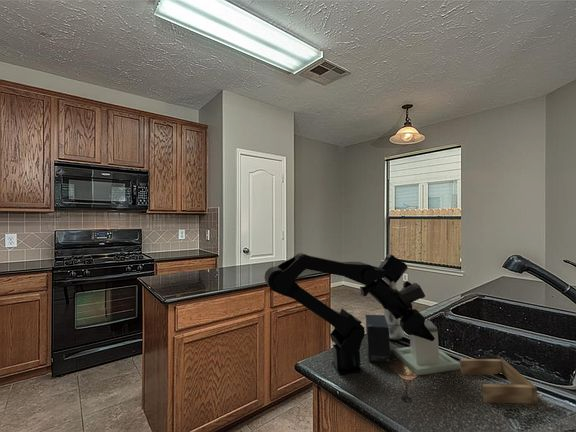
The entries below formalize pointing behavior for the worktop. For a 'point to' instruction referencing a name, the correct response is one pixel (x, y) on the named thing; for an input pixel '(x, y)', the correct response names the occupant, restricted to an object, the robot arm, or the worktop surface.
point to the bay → (501, 392)
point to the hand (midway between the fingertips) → (428, 332)
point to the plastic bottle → (393, 321)
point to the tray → (444, 365)
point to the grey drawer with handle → (425, 347)
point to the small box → (377, 338)
